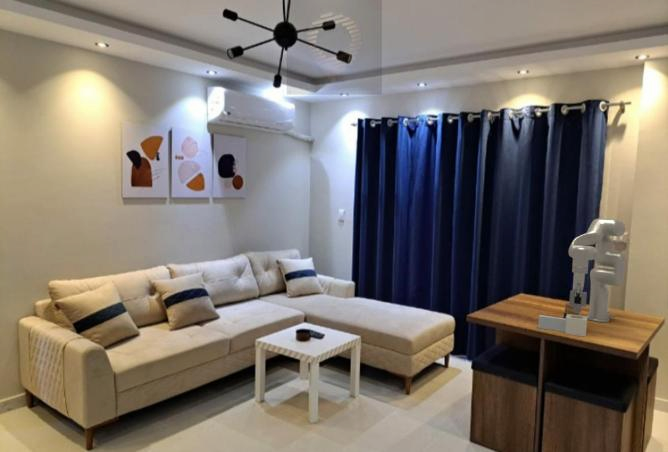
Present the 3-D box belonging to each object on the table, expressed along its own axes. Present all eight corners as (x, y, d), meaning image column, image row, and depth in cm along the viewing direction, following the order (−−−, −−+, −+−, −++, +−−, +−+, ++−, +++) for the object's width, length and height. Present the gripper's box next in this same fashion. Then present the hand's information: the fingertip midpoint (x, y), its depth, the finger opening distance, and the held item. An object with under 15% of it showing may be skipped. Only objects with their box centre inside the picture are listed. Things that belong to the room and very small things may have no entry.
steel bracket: (569, 309, 266) (570, 290, 265) (585, 312, 262) (586, 292, 261) (568, 311, 263) (570, 291, 262) (585, 313, 259) (586, 293, 258)
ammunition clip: (563, 320, 287) (564, 301, 286) (565, 320, 288) (566, 301, 287) (575, 326, 277) (577, 305, 276) (578, 326, 277) (580, 305, 276)
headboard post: (539, 325, 277) (540, 310, 276) (585, 332, 265) (587, 316, 265) (537, 329, 269) (538, 313, 268) (585, 336, 257) (586, 320, 257)
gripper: (572, 267, 269) (570, 299, 271) (571, 271, 255) (569, 305, 257) (587, 268, 266) (585, 301, 268) (587, 272, 252) (585, 307, 253)
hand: (577, 302), depth 262 cm, fingers closed on steel bracket, 3 cm apart
